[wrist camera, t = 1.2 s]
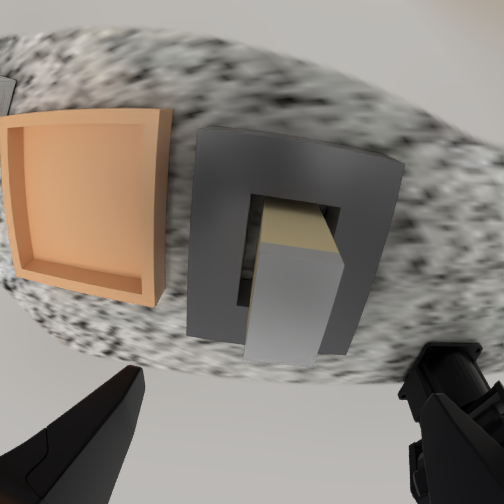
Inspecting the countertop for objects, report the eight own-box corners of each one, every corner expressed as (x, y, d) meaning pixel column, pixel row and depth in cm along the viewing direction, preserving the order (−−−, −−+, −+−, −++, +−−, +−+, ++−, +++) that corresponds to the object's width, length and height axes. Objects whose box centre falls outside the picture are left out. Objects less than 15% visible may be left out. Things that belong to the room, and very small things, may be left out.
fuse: (316, 201, 18) (344, 265, 11) (300, 277, 20) (312, 367, 13) (264, 193, 18) (259, 253, 11) (253, 270, 20) (243, 359, 13)
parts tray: (173, 108, 17) (159, 109, 14) (165, 288, 21) (154, 307, 19) (21, 113, 16) (0, 116, 14) (32, 262, 21) (16, 276, 19)
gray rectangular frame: (385, 154, 17) (405, 164, 14) (338, 326, 22) (345, 355, 19) (209, 125, 17) (198, 128, 14) (196, 308, 22) (186, 335, 19)
